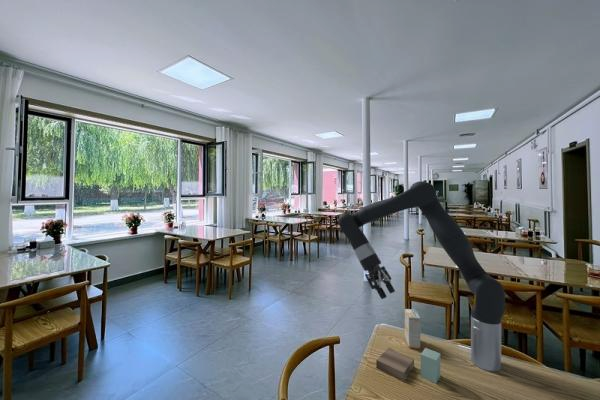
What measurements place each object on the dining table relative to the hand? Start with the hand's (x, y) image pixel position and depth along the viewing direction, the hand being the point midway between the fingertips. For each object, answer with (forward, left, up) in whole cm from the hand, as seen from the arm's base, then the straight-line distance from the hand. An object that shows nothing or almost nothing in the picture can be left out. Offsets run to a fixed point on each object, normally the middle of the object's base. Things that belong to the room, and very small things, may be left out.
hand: (388, 295), depth 98 cm
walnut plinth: (+2, +4, -25) cm, 26 cm away
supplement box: (-18, +3, -26) cm, 31 cm away
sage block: (-2, +15, -25) cm, 29 cm away
